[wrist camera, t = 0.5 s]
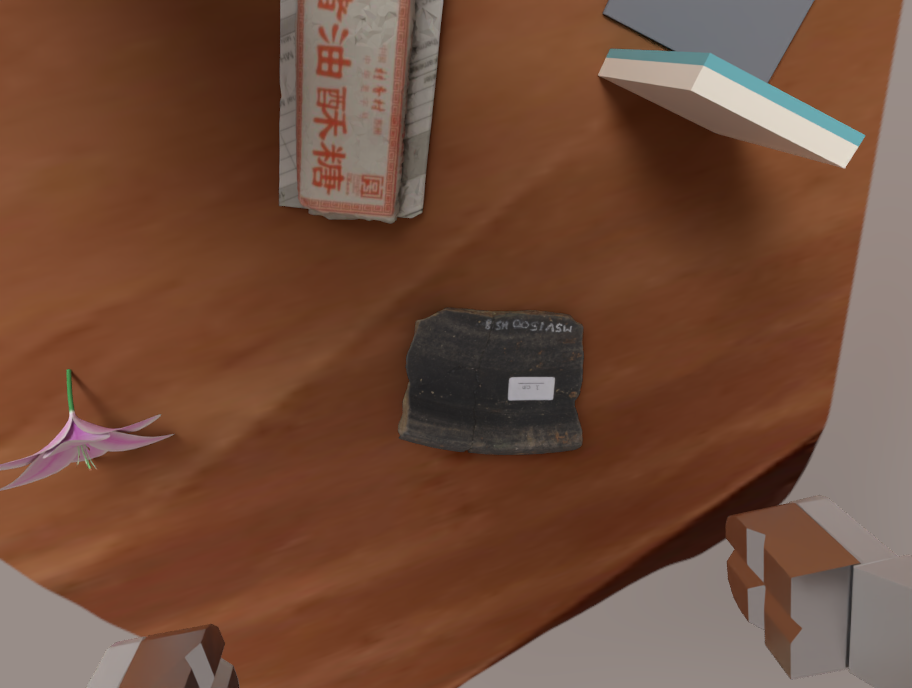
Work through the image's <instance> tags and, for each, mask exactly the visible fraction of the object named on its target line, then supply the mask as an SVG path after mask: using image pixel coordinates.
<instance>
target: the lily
mask: <svg viewBox="0 0 912 688" xmlns="http://www.w3.org/2000/svg"><path fill="white" fill-rule="evenodd" d="M67 393H68V403H69V413H70V416H69V420H68V422H67V423H66V425H65V426H64V428H63V429H62V430H61V432H60V433H59V434H58V435H57V436H56V437H55V438H54V439H53V440H52V441H51V442H50V443H49V444H48V445H47V446H46V447H45V448H43V449H42V450H41V451H39V452H37V453H35V454H33V455H31V456H28V457H25V458H22V459H19V460H15V461H12V462H8V463H4V464H0V470H6V469H13V468H18V467H22V466H25V465H27V464H30V463H32V462H33V463H32V464H31V465H30V466H29V467H28V468H27V469H26V470H25V471H24V472H23V473H22V474H21V475H20V476H19V477H18V478H17V479H16V480H15V481H13V482H12V483H10V484H9V485H7V486H5V487H3V488H1V489H0V491H1V490H6V489H10V488H14V487H18V486H21V485H25V484H28V483H31V482H34V481H37V480H40V479H43V478H46V477H48V476H50V475H52V474H55V473H57V472H59V471H60V470H62V469H63V468H65V467H66V466H68V465H69V464H70V463H71V462H76V467H77V465H78V463H79V462H80V461H85V462H86V467H87V468H88V467H89V470H90V471H91V470H92V468H91V467H90V464H89V462H88V460H89V459H90V461H91V459H92V458H95V457H99V456H101V455H103V454H105V453H106V452H107V451H126V450H131V449H136V448H139V447H142V446H146V445H149V444H152V443H155V442H157V441H160V440H163V439H165V438H168V437H170V436H172V435H174V434H171V435H165V436H158V437H144V436H136V435H130V434H125V433H120V432H134V431H137V430H140V429H142V428H144V427H146V426H147V425H149V424H151V423H152V422H154V421H155V420H156V419H158V418H159V417H160V416H161V414H159V415H156V416H154V417H151V418H149V419H146V420H144V421H141V422H138V423H135V424H133V425H130V426H127V427H123V428H116V429H111V428H105V427H101V426H98V425H95V424H92V423H89V422H87V421H84V420H82V419H80V418H78V417H77V416H76V414H75V411H74V405H73V397H72V381H71V370H70V369H68V370H67ZM116 431H117V432H116ZM77 462H78V463H77ZM91 463H92V461H91ZM92 464H93V463H92ZM93 466H94V464H93ZM94 467H95V468H96V469H97V470H98V468H97V467H96V466H94Z"/></svg>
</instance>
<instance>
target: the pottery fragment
mask: <svg viewBox="0 0 912 688" xmlns="http://www.w3.org/2000/svg"><path fill="white" fill-rule="evenodd" d="M582 337H583V326H582V324H580V323H577V322H576V321H575V320H574V319H573V318H572V317H571V316H570V315H568V314H563V313H554V312H546V311H542V312H541V311H537V310H525V311H484V310H473V309H463V308H462V309H457V308H448V307H447V308H444V309H443V310H441V311H438V312H437V313H435V314H433V315H431V316H430V317H427V318H425V319H420V320H417V321H416V324H415V334H414V338H413V341H412V343H411V345H410V348H409V351H408V353H407V356H406V371H407V375H408V378H409V383H408V387H407V390H406V393H405V396H404V399H403V414H402V417H401V420H400V421H399V425H398V433H399V434H400V437H399V439H402V440H406V441H409V442H412V443H416V444H421V445H425V446H429V447H433V448H439V449H444V450H450V451H457V452H464V451H466V450H468V452H469V453H478V454H495V455H527V454H543V453H554V452H563V451H569V450H575V449H578V448H579V447H581V445H582V441H583V438H582V429H581V425H580V422H579V419H578V414H577V411H576V408H575V400H576V399H577V397H578V396H579V394H580V388H581V385H582V380H583V379H582V375H583V359H584V354H583V345H582Z"/></svg>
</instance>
